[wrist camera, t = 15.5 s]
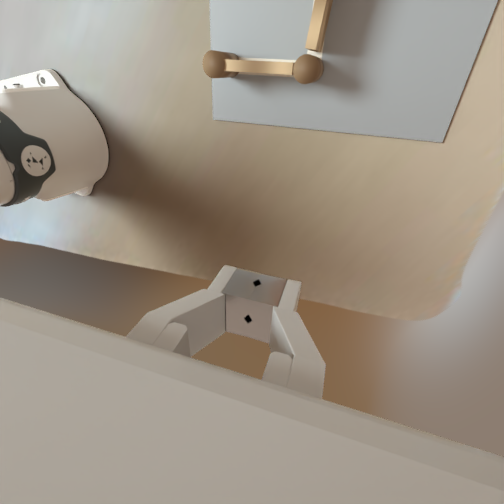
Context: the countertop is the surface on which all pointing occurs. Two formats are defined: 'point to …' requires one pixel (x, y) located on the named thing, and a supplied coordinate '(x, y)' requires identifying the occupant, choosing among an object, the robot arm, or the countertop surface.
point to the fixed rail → (262, 66)
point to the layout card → (351, 64)
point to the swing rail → (318, 25)
